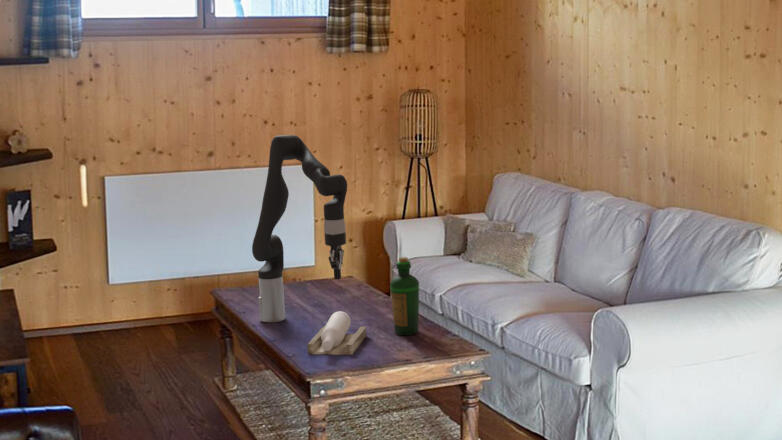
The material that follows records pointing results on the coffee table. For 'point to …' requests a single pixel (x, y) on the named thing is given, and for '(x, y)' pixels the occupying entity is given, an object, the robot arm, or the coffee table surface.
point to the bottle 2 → (405, 299)
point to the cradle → (345, 348)
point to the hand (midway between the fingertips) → (337, 278)
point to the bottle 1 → (335, 330)
